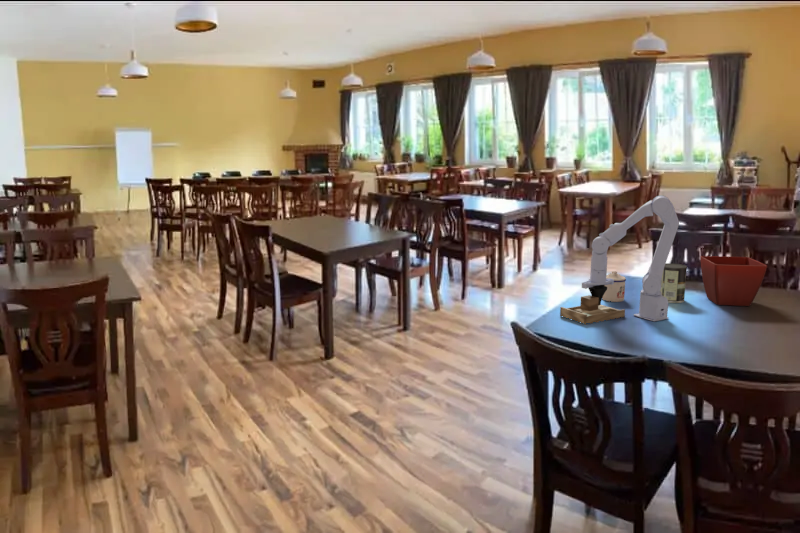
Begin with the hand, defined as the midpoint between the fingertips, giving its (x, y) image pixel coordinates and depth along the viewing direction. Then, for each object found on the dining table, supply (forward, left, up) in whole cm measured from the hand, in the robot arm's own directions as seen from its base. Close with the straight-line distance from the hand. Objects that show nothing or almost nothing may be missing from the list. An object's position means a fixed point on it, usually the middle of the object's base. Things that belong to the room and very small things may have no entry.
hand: (596, 305), depth 260 cm
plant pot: (-15, -57, -3) cm, 59 cm away
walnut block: (0, +4, -1) cm, 4 cm away
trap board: (-3, +5, -3) cm, 7 cm away
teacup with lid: (+12, -22, -3) cm, 26 cm away
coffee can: (-1, -40, -3) cm, 41 cm away
